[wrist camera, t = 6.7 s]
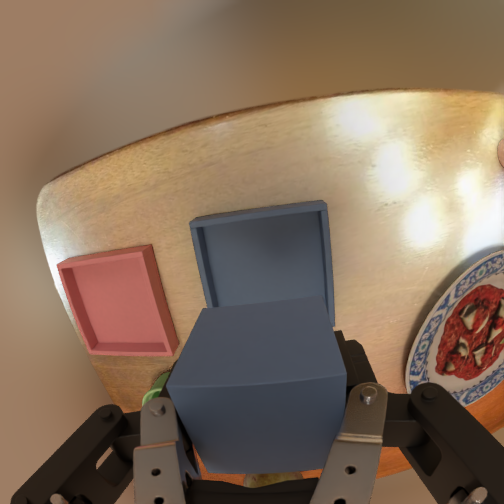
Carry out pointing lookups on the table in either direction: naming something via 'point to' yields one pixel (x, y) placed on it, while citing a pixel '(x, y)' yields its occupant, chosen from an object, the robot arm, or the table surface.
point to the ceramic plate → (464, 335)
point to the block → (261, 386)
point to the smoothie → (501, 152)
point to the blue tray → (265, 255)
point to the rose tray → (119, 302)
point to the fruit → (269, 478)
